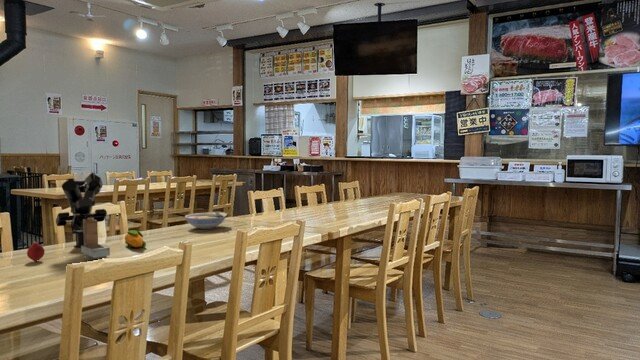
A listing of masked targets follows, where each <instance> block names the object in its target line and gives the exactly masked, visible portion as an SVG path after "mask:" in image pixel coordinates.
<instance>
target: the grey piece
mask: <svg viewBox="0 0 640 360" xmlns="http://www.w3.org/2000/svg"><path fill="white" fill-rule="evenodd" d="M80 251H81V254H83V257H84V259H85V260H84V261H86V260H92V261H94V260H93V259H97V258H104V259H107V258H106V257H108V256H111V249H110V247H109V246H104V245H101V244H99V243H98V247H95V248H88V247H86V246H81V247H80Z"/></svg>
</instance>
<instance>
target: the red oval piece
mask: <svg viewBox="0 0 640 360" xmlns="http://www.w3.org/2000/svg"><path fill="white" fill-rule="evenodd" d="M26 255H27V257H28V258H29V259H30V260H32V261H33V262H35V261H37V260H38V261H40V260H42V258H43V257H44V255H45V249H44V247H43V245H41V244H40V243H38V242H36V241H33V242H32V244H31V245H30V246H29V247H28V248H27V251H26ZM38 261H37V262H38Z"/></svg>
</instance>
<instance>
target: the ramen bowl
mask: <svg viewBox="0 0 640 360" xmlns="http://www.w3.org/2000/svg"><path fill="white" fill-rule="evenodd" d="M227 215H228V214H227V213H225V212H224V213H223V212H219V211H216V212H198V213H191V214H186V215H184V218H185V220H186V221H187V223H189V225H191V226H193V227H195V228H197V229H200V230H212V229H214V228H215V227H218V226H220V225H221V224H222V223H223V222H224V220H226V217H227Z"/></svg>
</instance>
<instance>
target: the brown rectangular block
mask: <svg viewBox="0 0 640 360" xmlns="http://www.w3.org/2000/svg"><path fill="white" fill-rule="evenodd" d="M98 228H99V227H98V222H97V220H94V219H93V218H92V217H90V218H87V220H83V235H84V246H86V247H88V248H95V247H98V244H99V234H98V233H99V232H98V231H99V229H98Z"/></svg>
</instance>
